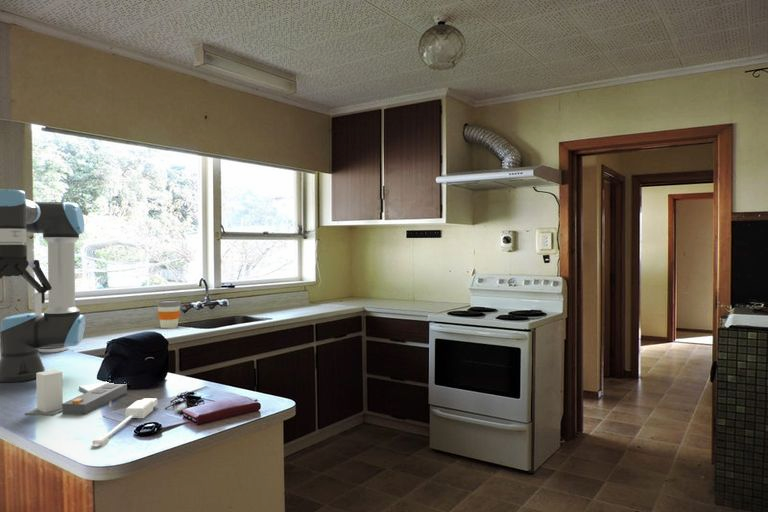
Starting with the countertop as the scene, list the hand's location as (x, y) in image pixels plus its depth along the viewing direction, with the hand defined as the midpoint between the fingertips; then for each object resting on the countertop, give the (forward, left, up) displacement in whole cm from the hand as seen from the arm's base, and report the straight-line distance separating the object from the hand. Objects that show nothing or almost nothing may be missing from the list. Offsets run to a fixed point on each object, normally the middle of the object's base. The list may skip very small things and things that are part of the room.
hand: (12, 317), depth 155 cm
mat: (-6, +7, -29) cm, 30 cm away
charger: (-6, +7, -28) cm, 30 cm away
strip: (-18, +16, -29) cm, 37 cm away
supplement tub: (-85, -50, -29) cm, 103 cm away
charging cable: (+4, +36, -29) cm, 47 cm away
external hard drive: (-30, +8, -29) cm, 43 cm away
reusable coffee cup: (-150, -28, -29) cm, 155 cm away
